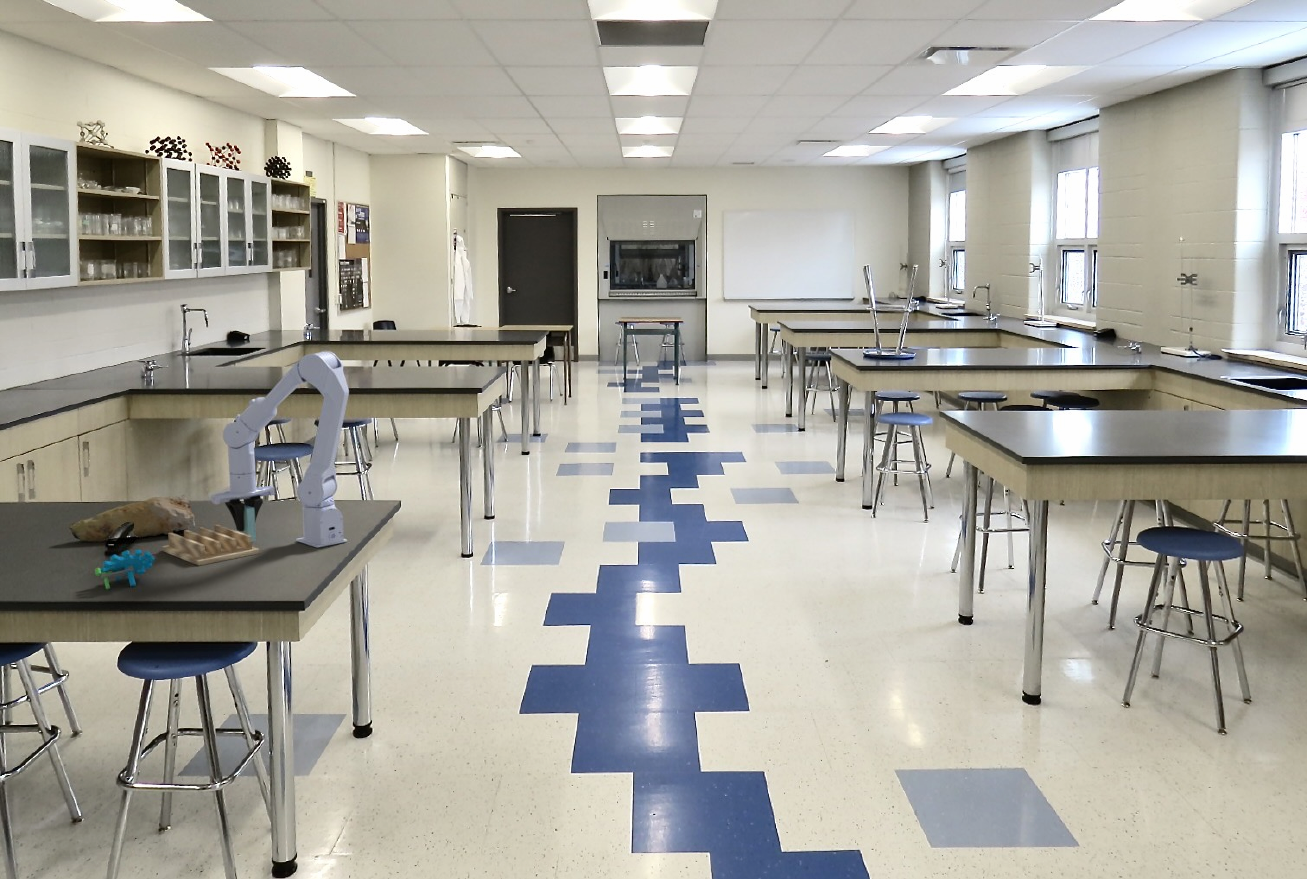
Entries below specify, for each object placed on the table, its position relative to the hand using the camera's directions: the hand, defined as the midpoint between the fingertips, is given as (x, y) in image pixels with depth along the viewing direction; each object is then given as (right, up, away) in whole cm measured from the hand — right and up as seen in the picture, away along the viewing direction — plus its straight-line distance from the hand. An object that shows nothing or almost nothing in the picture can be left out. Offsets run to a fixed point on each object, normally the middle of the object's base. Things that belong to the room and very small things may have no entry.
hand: (245, 529), depth 262 cm
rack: (-4, -4, -11) cm, 12 cm away
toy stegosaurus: (-11, -8, -35) cm, 38 cm away
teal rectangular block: (0, -2, 0) cm, 2 cm away
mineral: (-27, -2, +3) cm, 28 cm away
